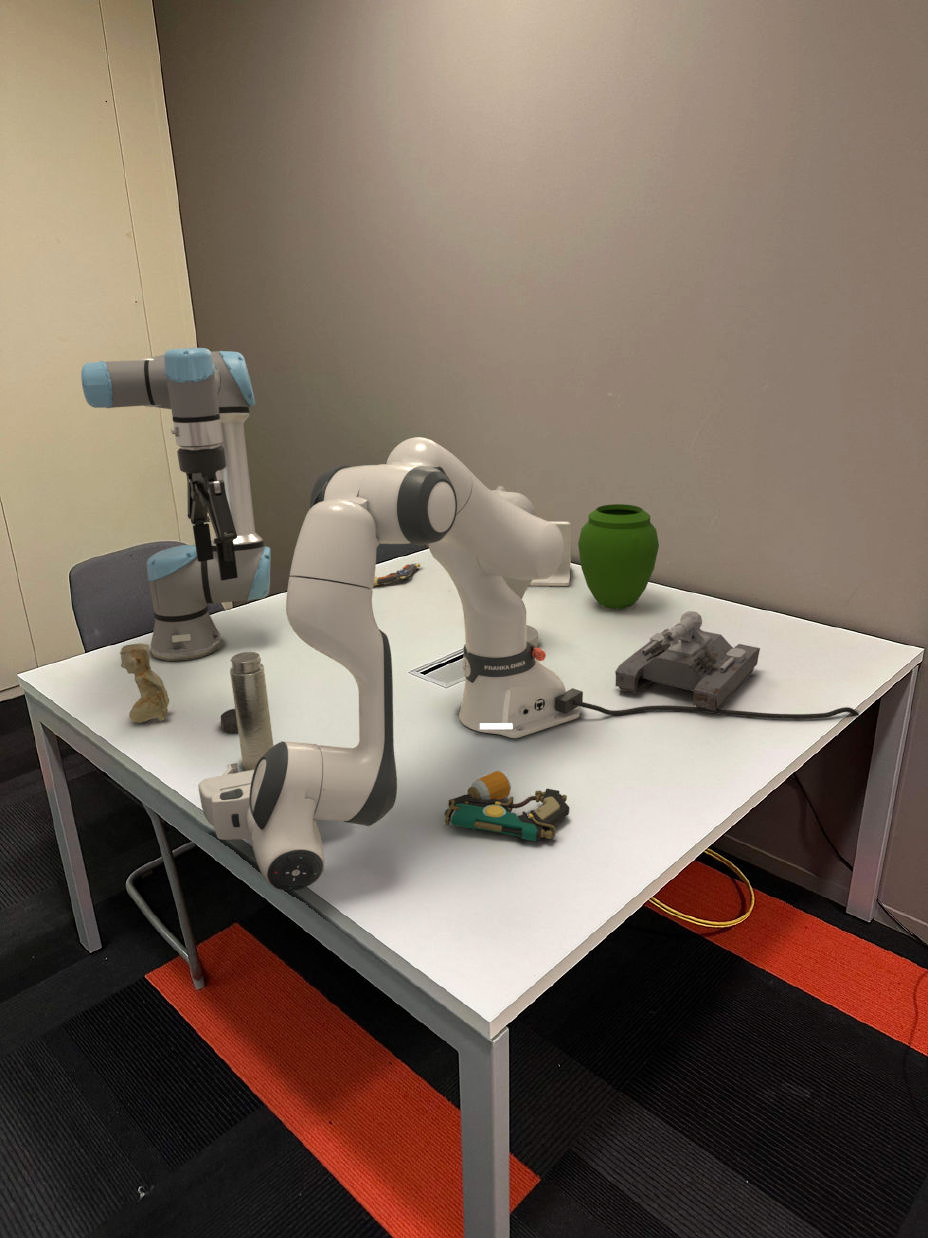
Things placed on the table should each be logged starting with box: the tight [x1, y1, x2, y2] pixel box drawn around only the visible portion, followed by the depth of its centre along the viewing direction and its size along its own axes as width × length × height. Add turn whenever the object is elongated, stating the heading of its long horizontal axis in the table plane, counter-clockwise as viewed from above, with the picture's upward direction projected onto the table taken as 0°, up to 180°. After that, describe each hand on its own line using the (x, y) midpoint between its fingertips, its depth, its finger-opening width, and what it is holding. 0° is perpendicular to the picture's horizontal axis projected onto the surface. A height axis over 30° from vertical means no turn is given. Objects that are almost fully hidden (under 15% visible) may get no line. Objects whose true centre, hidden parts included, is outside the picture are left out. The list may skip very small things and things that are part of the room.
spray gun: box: [444, 770, 570, 842], centre depth 127 cm, size 4×17×15 cm
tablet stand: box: [529, 521, 572, 587], centre depth 236 cm, size 18×25×17 cm
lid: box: [219, 707, 239, 734], centre depth 159 cm, size 6×6×2 cm
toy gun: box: [373, 562, 421, 587], centre depth 240 cm, size 3×19×10 cm
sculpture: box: [119, 643, 170, 723], centre depth 160 cm, size 6×7×15 cm
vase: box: [577, 503, 660, 610], centre depth 210 cm, size 20×20×24 cm
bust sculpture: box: [490, 485, 539, 648], centre depth 190 cm, size 16×24×35 cm, turn 28°
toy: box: [614, 610, 761, 711], centre depth 168 cm, size 25×20×15 cm
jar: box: [229, 651, 274, 771], centre depth 142 cm, size 5×5×20 cm
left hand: (217, 569), depth 148 cm, fingers open, 13 cm apart
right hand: (263, 761), depth 133 cm, fingers open, 8 cm apart
